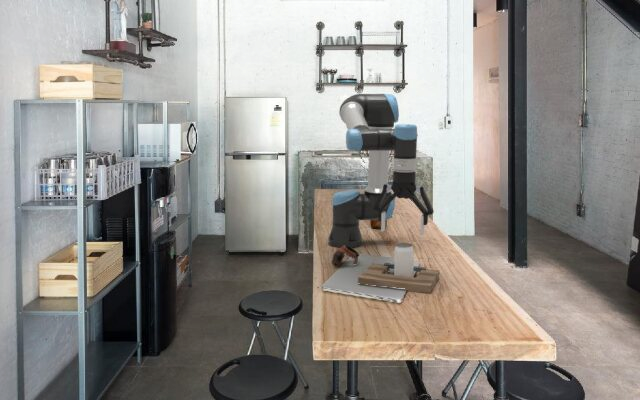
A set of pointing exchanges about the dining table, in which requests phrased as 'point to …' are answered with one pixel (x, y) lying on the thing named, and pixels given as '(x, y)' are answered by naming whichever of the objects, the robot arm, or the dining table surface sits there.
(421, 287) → the wooden frame board
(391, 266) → the cross rail
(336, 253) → the pottery mug
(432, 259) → the dining table surface
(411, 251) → the can
